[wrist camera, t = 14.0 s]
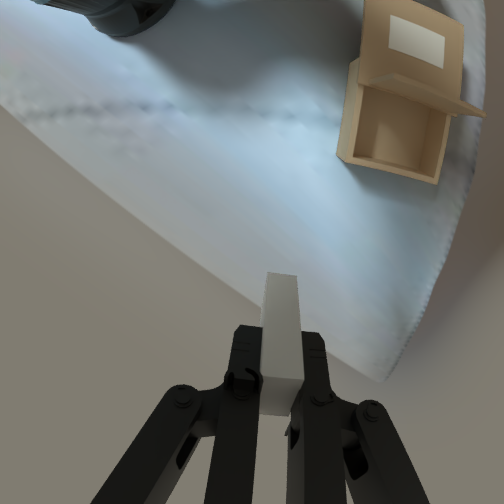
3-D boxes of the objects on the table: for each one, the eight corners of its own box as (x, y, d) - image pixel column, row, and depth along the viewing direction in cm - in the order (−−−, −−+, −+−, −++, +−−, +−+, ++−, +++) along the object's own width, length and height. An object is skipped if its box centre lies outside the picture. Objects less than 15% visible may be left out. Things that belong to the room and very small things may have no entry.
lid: (356, 83, 29) (380, 76, 21) (364, -14, 22) (386, -41, 14) (454, 116, 28) (493, 123, 20) (460, 26, 21) (497, 16, 14)
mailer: (336, 154, 39) (345, 162, 34) (349, 63, 32) (361, 56, 27) (419, 174, 39) (437, 185, 33) (434, 90, 32) (454, 90, 27)
